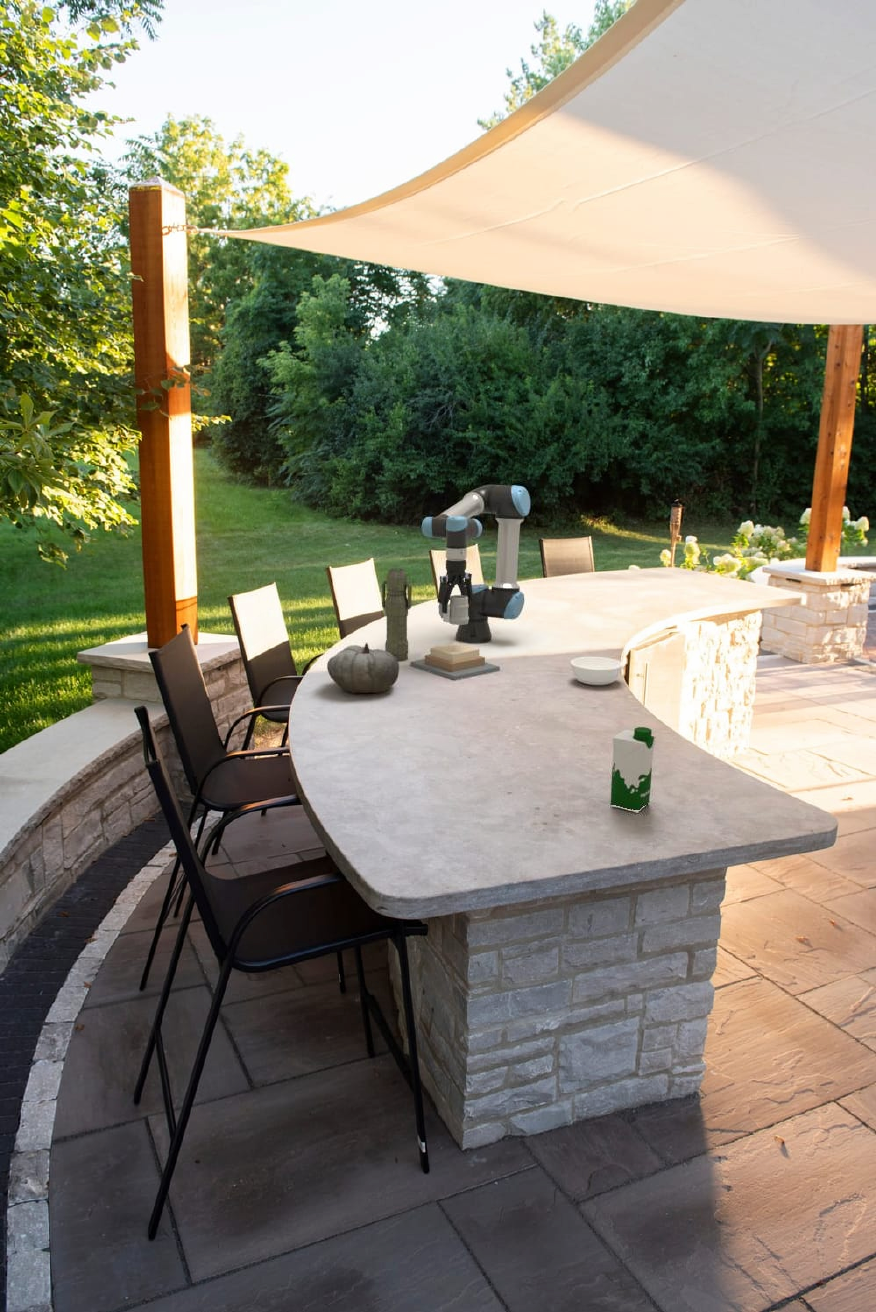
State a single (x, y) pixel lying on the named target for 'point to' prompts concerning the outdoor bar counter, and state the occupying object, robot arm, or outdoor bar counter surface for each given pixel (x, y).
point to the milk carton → (632, 768)
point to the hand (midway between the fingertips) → (455, 620)
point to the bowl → (596, 670)
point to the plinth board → (457, 673)
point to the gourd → (363, 669)
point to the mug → (457, 610)
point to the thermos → (397, 613)
